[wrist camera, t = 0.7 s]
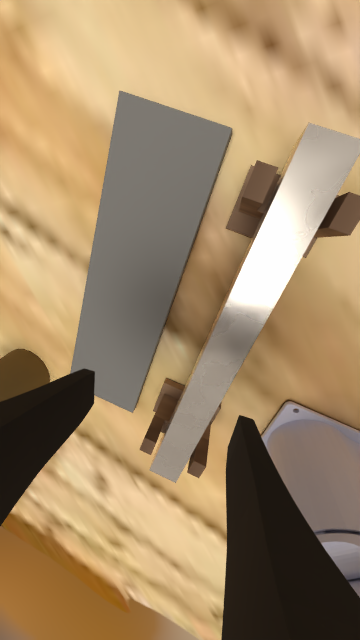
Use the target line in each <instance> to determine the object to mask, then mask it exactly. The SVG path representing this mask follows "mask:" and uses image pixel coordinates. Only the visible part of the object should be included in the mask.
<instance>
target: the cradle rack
mask: <svg viewBox="0 0 360 640" xmlns="http://www.w3.org/2000/svg"><path fill="white" fill-rule="evenodd" d="M277 170H278V167H275V166H272V165H269V164H266V163H263V162H260V161H258V160H257V162H256V164H255V166H252V165H251V167H250V169H249V172H248V174H247V177H246V179H245V182H244V184H243V187H242V190H241V192H240V195H239V197H238V200H237V202H236V205H235V207H234V210H233V212H232V215H231V217H230V220H229V222H228V225H227V227H226V229H229V230H232V231H234V232H237V233H240V234H242V235H245V236H248V237H250V238H252V237H253V235H254V233H255V231H256V229H257V226H258V224H259V222H260V220H261V217H262V215H263V213H264V211H265V209H266V206H267V204H268V202H269V200H270V198H271V195H272V193H273V191H274V189H275V187H276V184H277V182H278V180H279V178H280V176H281V175H278V174H276V172H277ZM359 220H360V196H359V195H356V194H353V193H351V192H348V193H346V194H343V195H341V196H338V195H336V197H335V199H334V201H333V202H332V204H331V206H330V208H329V210H328V211H327V213H326V215H325V217H324V219H323V220H322V222H321V224H320V226H319V227H318V229H317V231H316V233H315V235H314V236H313V238H312V240H311V242H310V244H309V245H308V247H307V249H306V251H305V253H304V254H303V256H302V257H305V258H306V257H307V255H308V253H309V251H310V250H311V248H312V246H313V244H314V243H315V241H316V239H317V237H332V236H348V235H351V233H352V231H353V230H354V228H355V227H356V225H357V223H358V222H359ZM184 388H185V386H183V385H181V384H179V383H176V382H174V381H172V380H170V379H167V378H166V380H165V382H164V385H163V387H162V390H161V392H160V395H159V397H158V400H157V402H156V405H155V407H154V410H153V411H154V412H156V413H155V415H154V417H153V420H152V422H151V424H150V426H149V429H148V431H147V433H146V435H145V438H144V440H143V443H142V445H141V447H140V450H141V451H143V452H146V453H148V454H150V455H151V453H152V451H153V449H154V447H155V444H156V442H157V439H158V437H159V434H160V432H162V433H164V432H165V429H166V427H167V425H168V423H169V421H170V418H171V416H172V414H173V412H174V410H175V407H176V405H177V403H178V401H179V399H180V396H181V394H182V392H183V390H184ZM220 408H221V403H220V404H219V406H218V408H217V410H216V412H215V413H214V415H213V417H212V419H211V421H210V422H209V424H208V426H207V428H206V429H205V431H204V433H203V435H202V437H201V438H200V440H199V442H198V444H197V446H196V447H195V449H194V451H193V453H192V455H191V456H190V461H189V466H188V471H187V473H189V474H191V475H193V476H195V477H198V478H199V477H200V476H201V474H202V472H203V471H204V469H205V468H206V462H207V453H208V445H209V436H210V427H211V424H212V422H213V421H214V419H215V417H216V415H217V414H218V412H219V410H220Z"/></svg>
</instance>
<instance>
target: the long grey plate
mask: <svg viewBox="0 0 360 640" xmlns="http://www.w3.org/2000/svg"><path fill="white" fill-rule="evenodd" d="M231 136H232V128H230V127H227V126H224V125H221V124H218V123H215V122H212V121H209V120H206V119H203V118H200V117H197V116H194V115H191V114H188V113H185V112H183V111H180V110H177V109H174V108H171V107H168V106H165V105H162V104H159V103H156V102H153V101H150V100H147V99H144V98H141V97H138V96H135V95H132V94H129V93H126V92H123V91H119V97H118V102H117V108H116V114H115V120H114V125H113V131H112V137H111V143H110V148H109V154H108V160H107V166H106V171H105V177H104V183H103V189H102V195H101V200H100V206H99V212H98V218H97V223H96V229H95V235H94V241H93V246H92V252H91V258H90V264H89V269H88V275H87V281H86V287H85V292H84V298H83V304H82V310H81V315H80V321H79V327H78V333H77V338H76V344H75V350H74V356H73V361H72V367H71V373H73V372H76V371H78V370H81V369H84V368H85V369H88V370H92V371H95V387H94V395H95V396H98V397H100V398H102V399H104V400H106V401H108V402H110V403H113V404H115V405H117V406H119V407H121V408H123V409H125V410H128V411H130V412H132V413H133V411H134V410H135V408H136V405H137V402H138V399H139V397H140V394H141V391H142V388H143V385H144V382H145V380H146V377H147V374H148V371H149V368H150V365H151V363H152V360H153V357H154V354H155V351H156V348H157V346H158V343H159V340H160V337H161V334H162V331H163V329H164V326H165V323H166V320H167V317H168V314H169V312H170V309H171V306H172V303H173V300H174V297H175V295H176V292H177V289H178V286H179V283H180V280H181V278H182V275H183V272H184V269H185V266H186V263H187V261H188V258H189V255H190V252H191V249H192V246H193V244H194V241H195V238H196V235H197V232H198V229H199V227H200V224H201V221H202V218H203V215H204V212H205V210H206V207H207V204H208V201H209V198H210V195H211V193H212V190H213V187H214V184H215V181H216V178H217V176H218V173H219V170H220V167H221V164H222V161H223V159H224V156H225V153H226V150H227V147H228V144H229V142H230V139H231ZM71 373H70V374H71Z"/></svg>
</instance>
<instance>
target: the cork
mask: <svg viewBox="0 0 360 640" xmlns="http://www.w3.org/2000/svg"><path fill="white" fill-rule="evenodd" d="M49 382H50V376H49V373H48V369H47V368H46V366H45V364H44V363H43V362H42V360H41V359H40V358H39V357H38V356H36V355H35V354H33V353H32V352H30V351H27V350H24V349H16V350H14V351H11V352H10V353H8V354H7V355H5V356H4V357H2V358H1V359H0V402H1V401H4V400H7V399H9V398H12V397H15V396H17V395H20V394H23V393H25V392H28V391H30V390H33V389H36V388H38V387H41V386H43V385H45V384H48V383H49Z"/></svg>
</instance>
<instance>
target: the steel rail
mask: <svg viewBox="0 0 360 640" xmlns="http://www.w3.org/2000/svg"><path fill="white" fill-rule="evenodd" d="M359 154H360V139H358V138H355V137H352V136H349V135H346V134H343V133H340V132H337V131H333V130H330V129H327V128H324V127H321V126H318V125H315V124H312V123H308V125H307V127H306V128H305V130H304V131H303V133H302V134H301V136H300V137H299V139H298V141H297V142H296V144H295V145H294V147H293V149H292V151H291V153H290V156H289V158H288V160H287V162H286V164H285V167H284V169H283V171H282V173H281V176H280V178H279V180H278V182H277V184H276V187H275V189H274V191H273V193H272V195H271V198H270V200H269V202H268V204H267V206H266V209H265V211H264V213H263V215H262V217H261V220H260V222H259V224H258V226H257V229H256V231H255V233H254V235H253V237H252V240H251V242H250V244H249V246H248V248H247V251H246V253H245V255H244V257H243V259H242V262H241V264H240V266H239V268H238V270H237V273H236V275H235V277H234V279H233V282H232V284H231V286H230V288H229V290H228V293H227V295H226V297H225V299H224V301H223V304H222V306H221V308H220V310H219V312H218V315H217V317H216V319H215V321H214V323H213V326H212V328H211V330H210V332H209V335H208V337H207V339H206V341H205V343H204V346H203V348H202V350H201V352H200V354H199V357H198V359H197V361H196V363H195V365H194V368H193V370H192V372H191V374H190V376H189V379H188V381H187V383H186V385H185V388H184V390H183V392H182V394H181V396H180V399H179V401H178V403H177V405H176V407H175V410H174V412H173V414H172V416H171V418H170V421H169V423H168V425H167V427H166V429H165V432H164V434H163V436H162V438H161V441H160V443H159V445H158V448H157V450H156V453H155V456H154V459H153V461H152V464H151V467H150V471H152V472H154V473H156V474H158V475H160V476H162V477H165V478H167V479H169V480H171V481H173V482H175V483H176V481H177V480H178V478H179V476H180V474H181V472H182V471H183V469H184V467H185V465H186V463H187V462H188V460H189V458H190V456H191V455H192V453H193V451H194V449H195V447H196V446H197V444H198V442H199V440H200V438H201V437H202V435H203V433H204V431H205V429H206V428H207V426H208V424H209V422H210V421H211V419H212V417H213V415H214V413H215V412H216V410H217V408H218V406H219V404H220V403H221V401H222V399H223V397H224V396H225V394H226V392H227V390H228V388H229V387H230V385H231V383H232V381H233V379H234V378H235V376H236V374H237V372H238V370H239V369H240V367H241V365H242V363H243V362H244V360H245V358H246V356H247V354H248V353H249V351H250V349H251V347H252V345H253V344H254V342H255V340H256V338H257V337H258V335H259V333H260V331H261V329H262V328H263V326H264V324H265V322H266V320H267V319H268V317H269V315H270V313H271V312H272V310H273V308H274V306H275V304H276V303H277V301H278V299H279V297H280V295H281V294H282V292H283V290H284V288H285V286H286V285H287V283H288V281H289V279H290V278H291V276H292V274H293V272H294V270H295V269H296V267H297V265H298V263H299V261H300V260H301V258H302V256H303V254H304V253H305V251H306V249H307V247H308V245H309V244H310V242H311V240H312V238H313V236H314V235H315V233H316V231H317V229H318V227H319V226H320V224H321V222H322V220H323V219H324V217H325V215H326V213H327V211H328V210H329V208H330V206H331V204H332V202H333V201H334V199H335V197H336V195H337V194H338V192H339V190H340V188H341V186H342V185H343V183H344V181H345V179H346V177H347V176H348V174H349V172H350V170H351V168H352V167H353V165H354V163H355V161H356V160H357V158H358V156H359Z"/></svg>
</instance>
